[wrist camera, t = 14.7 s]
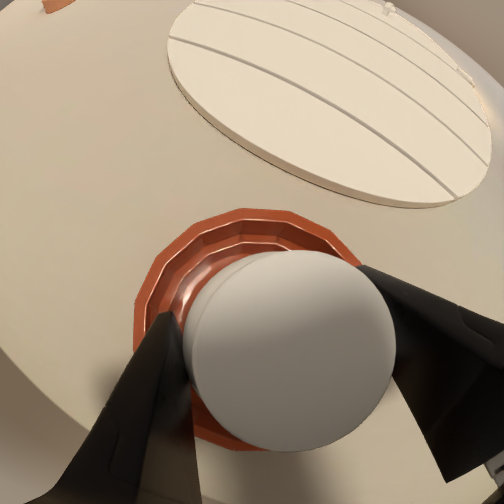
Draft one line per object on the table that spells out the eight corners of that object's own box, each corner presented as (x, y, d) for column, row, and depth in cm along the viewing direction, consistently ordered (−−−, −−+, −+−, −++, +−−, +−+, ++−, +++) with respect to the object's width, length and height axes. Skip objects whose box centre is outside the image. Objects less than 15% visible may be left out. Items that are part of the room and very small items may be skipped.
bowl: (249, 447, 15) (257, 488, 10) (124, 321, 16) (88, 320, 11) (372, 327, 17) (416, 327, 12) (255, 204, 18) (265, 165, 13)
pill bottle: (316, 293, 15) (436, 246, 5) (298, 390, 14) (395, 474, 4) (215, 273, 15) (192, 188, 5) (195, 373, 13) (139, 457, 4)
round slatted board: (284, -29, 30) (287, -43, 26) (483, 82, 27) (493, 71, 24) (91, 76, 20) (80, 53, 17) (459, 301, 18) (489, 296, 15)
